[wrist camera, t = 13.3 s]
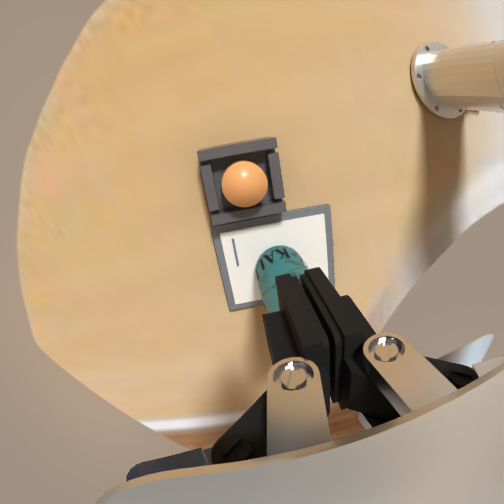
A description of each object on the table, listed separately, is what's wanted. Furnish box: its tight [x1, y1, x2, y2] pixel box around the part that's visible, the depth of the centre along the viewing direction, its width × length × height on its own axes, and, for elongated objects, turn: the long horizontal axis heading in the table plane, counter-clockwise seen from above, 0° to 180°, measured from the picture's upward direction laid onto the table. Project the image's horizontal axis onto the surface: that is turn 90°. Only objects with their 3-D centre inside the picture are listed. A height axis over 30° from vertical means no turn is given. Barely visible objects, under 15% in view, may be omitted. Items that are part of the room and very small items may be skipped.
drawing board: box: [211, 204, 335, 311], centre depth 42 cm, size 16×13×1 cm
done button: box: [221, 160, 268, 207], centre depth 34 cm, size 5×5×2 cm
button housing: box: [197, 137, 287, 226], centre depth 36 cm, size 9×9×4 cm
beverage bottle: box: [256, 245, 308, 313], centre depth 32 cm, size 6×7×20 cm
